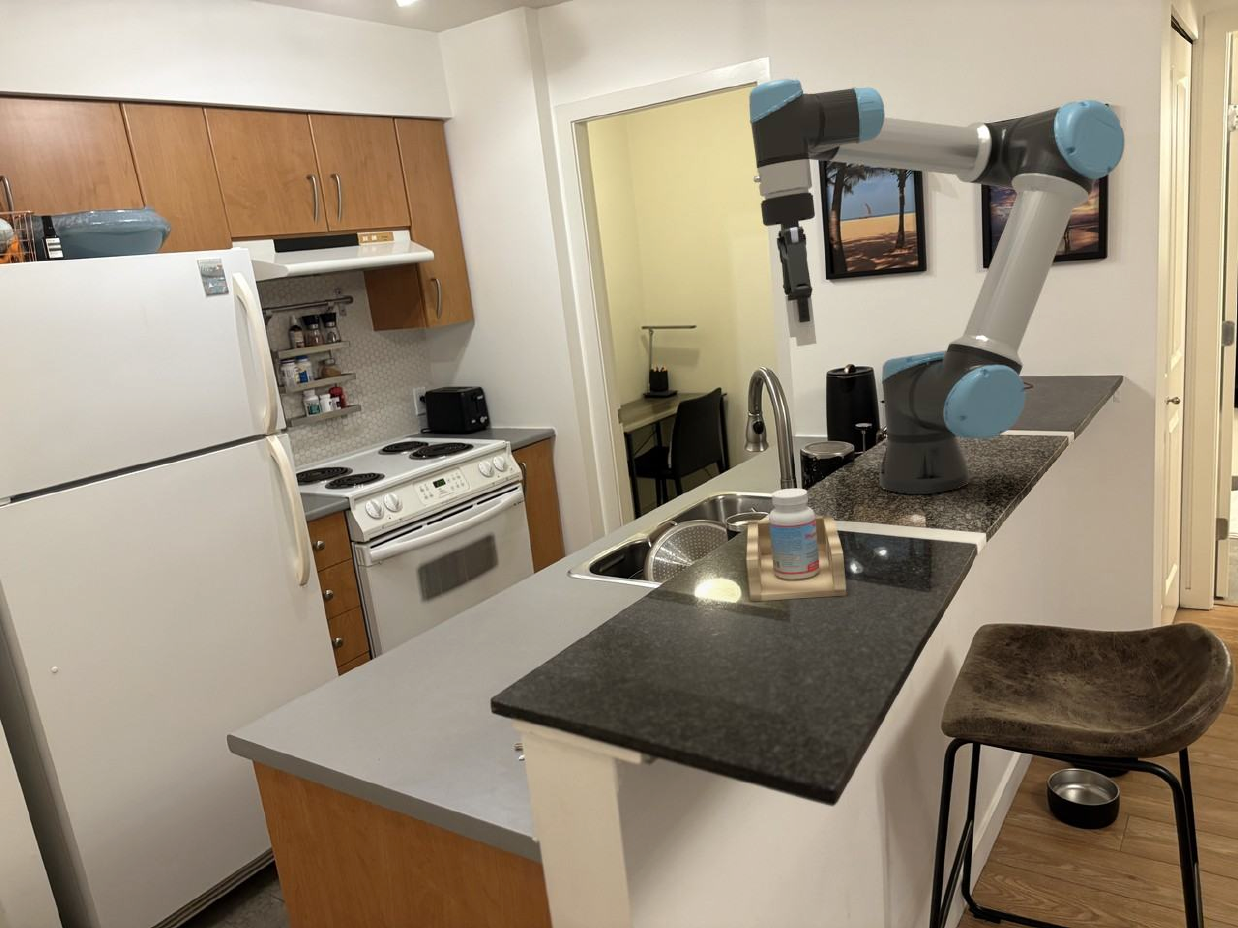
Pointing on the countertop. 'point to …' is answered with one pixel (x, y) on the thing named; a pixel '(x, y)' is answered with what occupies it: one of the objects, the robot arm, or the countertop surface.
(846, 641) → the countertop surface
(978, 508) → the countertop surface
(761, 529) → the cradle
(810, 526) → the pill bottle
